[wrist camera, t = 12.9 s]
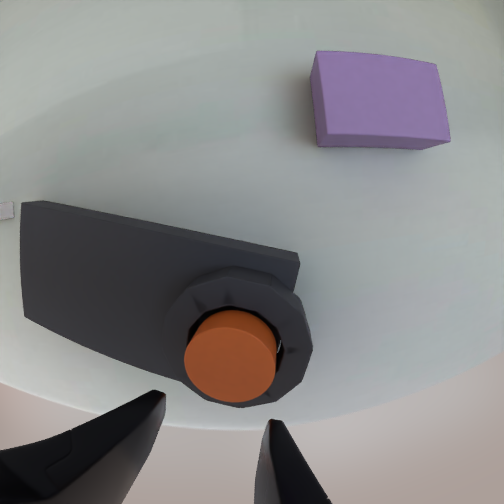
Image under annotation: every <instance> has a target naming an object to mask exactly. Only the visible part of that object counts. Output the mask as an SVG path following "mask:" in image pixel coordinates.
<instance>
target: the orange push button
mask: <svg viewBox="0 0 504 504" xmlns="http://www.w3.org/2000/svg"><path fill="white" fill-rule="evenodd" d="M184 363H185V369H186V372H187V374H188V376H189V378H190V380H191V381H192V382H193V384H194V385H195V386H196V387H197V388H198V389H199V390H201V391H202V392H203V393H205V394H206V395H208V396H210V397H212V398H215V399H218V400H221V401H226V402H244V401H249V400H252V399H254V398H256V397H258V396H260V395H261V394H263V393H264V392H265V391H266V390H267V389H268V388H269V387H270V385H271V384H272V382H273V379H274V376H275V368H276V341H275V337H274V335H273V333H272V331H271V330H270V328H269V327H268V326H267V325H266V324H265V323H264V322H263V321H262V320H261V319H259V318H258V317H256V316H254V315H252V314H250V313H247V312H244V311H238V310H225V311H220V312H217V313H215V314H213V315H211V316H209V317H208V318H206V319H205V320H204V321H203V322H202V324H201V325H200V326H199V328H198V330H197V331H196V333H195V334H194V336H193V338H192V339H191V341H190V343H189V344H188V346H187V348H186V351H185V356H184Z"/></svg>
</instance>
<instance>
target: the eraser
mask: <svg viewBox="0 0 504 504" xmlns="http://www.w3.org/2000/svg"><path fill="white" fill-rule="evenodd" d="M8 218H14V211H13V202H6V203H0V220H3V219H8Z"/></svg>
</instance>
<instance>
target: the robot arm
mask: <svg viewBox="0 0 504 504" xmlns="http://www.w3.org/2000/svg"><path fill="white" fill-rule="evenodd" d="M165 411H166V394H165V393H164V392H161V391H158V390H151V391H149V392H147V393H145V394H143V395H142V396H140V397H138V398H136V399H134V400H132V401H130V402H128V403H126V404H124V405H122V406H120V407H118V408H116V409H114V410H112V411H109V412H107V413H105V414H103V415H101V416H99V417H97V418H95V419H93V420H90V421H88V422H86V423H84V424H82V425H79V426H77V427H75V428H73V429H72V430H68V431H66V432H63V433H61V434H58V435H56V436H53V437H51V438H48V439H45V440H41V441H38V442H35V443H31V444H27V445H23V446H19V447H14V448H10V449H6V450H0V504H121V503H122V502H123V500H124V498H125V497H126V494H127V493H128V491H129V490H130V488H131V486H132V484H133V482H134V481H135V479H136V477H137V476H138V474H139V472H140V470H141V468H142V467H143V465H144V463H145V461H146V460H147V458H148V456H149V453H150V452H151V449H152V447H153V444H154V442H155V439H156V437H157V434H158V431H159V429H160V426H161V424H162V421H163V419H164V416H165ZM327 498H328V496H327V495H326V493H325V492H324V490H323V488H322V487H321V485H320V484H319V482H318V480H317V479H316V477H315V475H314V474H313V472H312V470H311V469H310V467H309V466H308V464H307V462H306V461H305V459H304V457H303V456H302V454H301V452H300V451H299V449H298V447H297V445H296V443H295V442H294V440H293V438H292V437H291V435H290V433H289V431H288V430H287V428H286V426H285V424H284V422H283V421H281V420H275V419H270V420H269V421H268V424H267V426H266V429H265V432H264V435H263V438H262V443H261V449H260V454H259V460H258V466H257V471H256V477H255V493H254V504H332V503H331V501H330V499H327Z"/></svg>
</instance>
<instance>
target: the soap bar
mask: <svg viewBox="0 0 504 504" xmlns="http://www.w3.org/2000/svg"><path fill="white" fill-rule="evenodd" d="M310 81H311V89H312V98H313V106H314V116H315V125H316V136H317V146H318V147H381V148H402V149H417V150H423V149H426V148H430V147H433V146H437V145H440V144H444V143H448V142H450V132H449V125H448V118H447V112H446V107H445V101H444V96H443V91H442V87H441V82H440V78H439V74H438V70H437V66H436V64H433V63H428V62H423V61H418V60H412V59H406V58H400V57H393V56H386V55H378V54H368V53H357V52H341V51H316V54H315V58H314V63H313V67H312V71H311V75H310Z"/></svg>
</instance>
